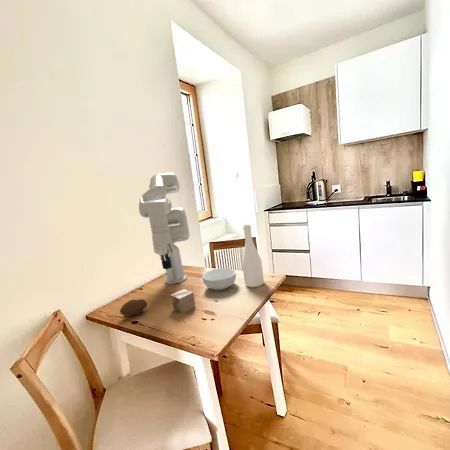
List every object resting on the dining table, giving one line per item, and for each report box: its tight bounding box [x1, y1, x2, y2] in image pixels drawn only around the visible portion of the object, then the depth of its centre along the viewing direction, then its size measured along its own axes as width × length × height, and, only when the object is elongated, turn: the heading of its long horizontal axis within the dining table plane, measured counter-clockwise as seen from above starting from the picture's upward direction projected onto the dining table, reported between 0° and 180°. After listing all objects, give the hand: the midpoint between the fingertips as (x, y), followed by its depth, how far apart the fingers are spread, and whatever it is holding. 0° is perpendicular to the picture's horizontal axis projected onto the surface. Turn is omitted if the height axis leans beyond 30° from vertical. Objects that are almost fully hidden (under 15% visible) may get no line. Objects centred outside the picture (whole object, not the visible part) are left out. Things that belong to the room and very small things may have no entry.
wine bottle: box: [241, 223, 265, 288], centre depth 125 cm, size 10×10×30 cm
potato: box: [119, 298, 148, 317], centre depth 113 cm, size 7×12×7 cm, turn 131°
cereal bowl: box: [202, 267, 237, 291], centre depth 130 cm, size 17×17×7 cm
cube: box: [170, 288, 196, 315], centre depth 112 cm, size 7×7×7 cm
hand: (167, 268), depth 116 cm, fingers closed
